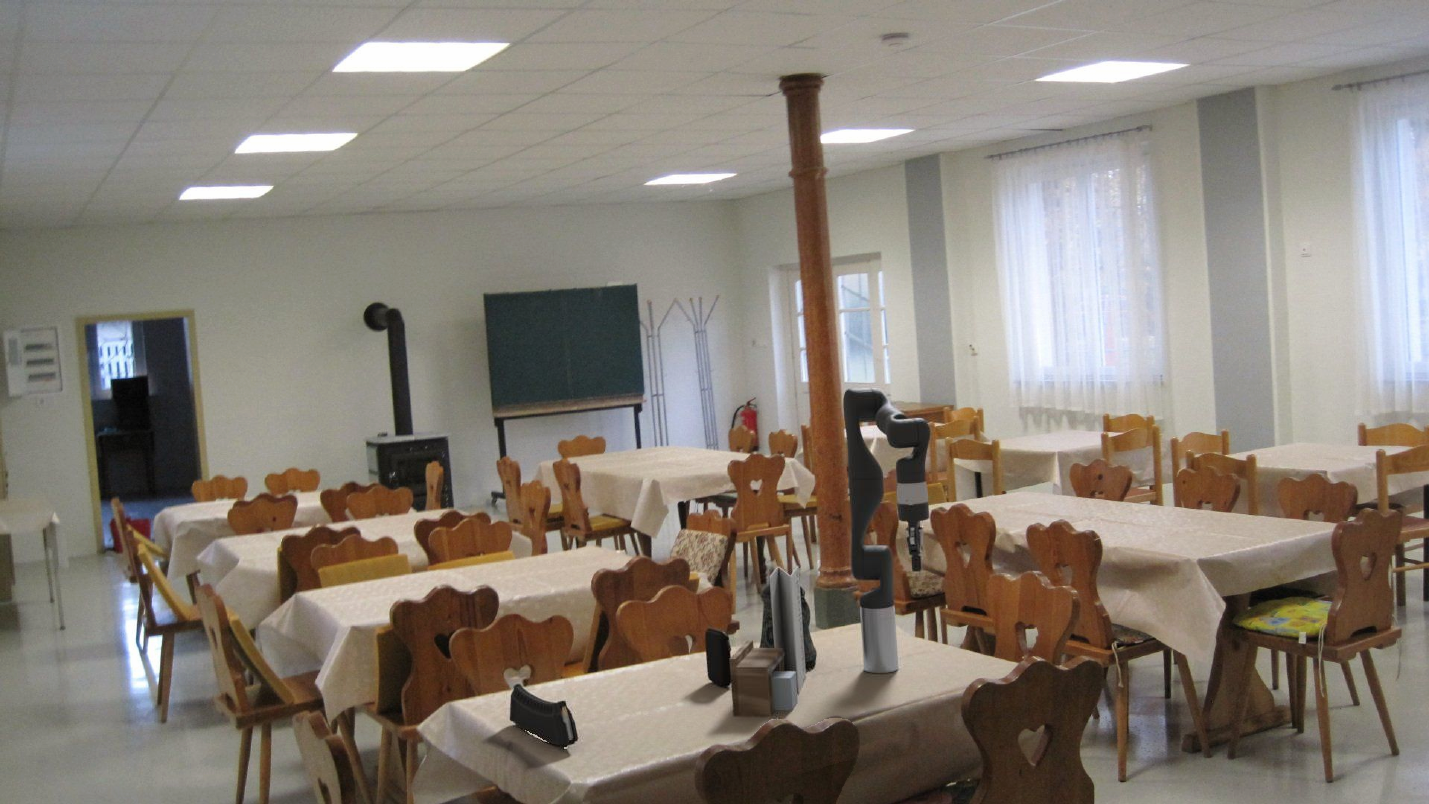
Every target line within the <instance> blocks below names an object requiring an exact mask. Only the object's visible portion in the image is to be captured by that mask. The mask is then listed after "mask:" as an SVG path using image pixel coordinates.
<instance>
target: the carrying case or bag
mask: <svg viewBox="0 0 1429 804" xmlns="http://www.w3.org/2000/svg"><path fill="white" fill-rule="evenodd" d="M704 641H705V643H704V644H705V656H706V671H707V672H706V673H707V677H708V680H709V681H711V682H712V684H713V683H714V684H716V685H719V686H721V687H724V688H728V687H731V674H730V660H729V659H730V658H731V657H732V654H731V651H732V648H731V647H732V646H731V643H730V637H729V634H727V633H726V632H725V631H723V630H720V629H716V628H714V627H713V628H712V627H710V628H708V629H706V632H705V634H704Z"/></svg>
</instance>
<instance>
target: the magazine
mask: <svg viewBox="0 0 1429 804" xmlns="http://www.w3.org/2000/svg"><path fill="white" fill-rule="evenodd" d="M509 720H510V722H511V723H512V722H513V723H514V724H515V725H516V726H517V727H518V728H519V729H521V728H523V729H524V730H526V731H529V732H530V733H532V734H535V735H537V736H538V737H540V738H542V739H543V740H546V741H547V742H549V743H548V744H550V743H552V744H551V745H554V744H557V745H556V746H559V745H560V747H562V748H563V747H567V746H568V747H569V746H571V745H575V744H576V742H578V741H579V736H578V732H577V731H578V730H577V726H576V721H575V720H574V717H573V714H572V712H571V710H570V709H569V708H568V705H567V702H566V700H560V701H558V702H555V701H554V702H553V701H548V700H545V699H543V698H540V697H538V696H536V695H534V694H532V693H530V692H529V691H528V690H526V689H525V688H524V687H523V686H522V685H521V683H516V684H515V685H513V690H512V691H511V694H510V705H509ZM524 730H523V731H524Z"/></svg>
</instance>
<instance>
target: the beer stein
mask: <svg viewBox="0 0 1429 804" xmlns="http://www.w3.org/2000/svg"><path fill="white" fill-rule="evenodd" d="M759 595H760V600H761V601H762V603H763V608H762V611H763V612H762V622H761V623H762V625H761V637H760V643H759V647H758V648H774V635H773V620H772V606H771V591H770V583H769V584H767V586H765V587H764V588H763V589H762V590H761V592H760V594H759ZM800 596H801V611H802V625H803V640H804V655H805V669H806V671H808V670H811V669H812V667H813V668H814V667H815V666H816V664H817V663H816V662H817V655H818V653H817V649H816V647H815V645H814V642H813V638H812V636H811V632H810V624H811V609H810V605H809V603H808V602H807V600H806V598H805V597H806V591H805V589H804V588H803V587H802V586H801V585H800Z"/></svg>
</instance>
